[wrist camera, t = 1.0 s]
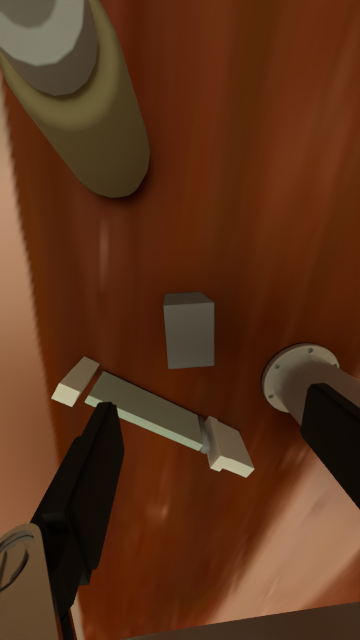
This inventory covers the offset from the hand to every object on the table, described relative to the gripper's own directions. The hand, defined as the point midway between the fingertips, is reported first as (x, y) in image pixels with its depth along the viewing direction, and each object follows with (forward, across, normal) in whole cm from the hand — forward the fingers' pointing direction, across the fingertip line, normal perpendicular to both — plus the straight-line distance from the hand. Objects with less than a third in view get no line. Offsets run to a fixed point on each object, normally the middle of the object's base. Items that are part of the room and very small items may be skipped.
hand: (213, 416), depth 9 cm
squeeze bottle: (+19, +7, -18) cm, 27 cm away
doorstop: (+18, 0, 0) cm, 19 cm away
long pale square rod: (+18, +5, +14) cm, 23 cm away
